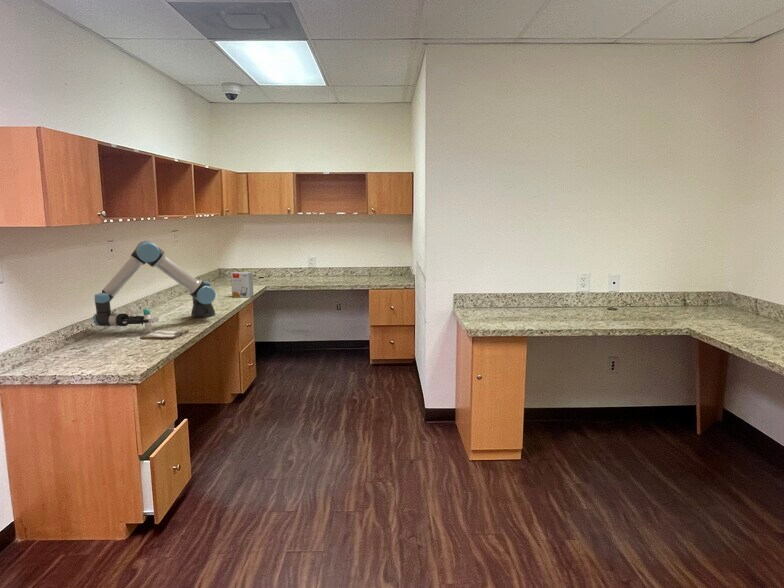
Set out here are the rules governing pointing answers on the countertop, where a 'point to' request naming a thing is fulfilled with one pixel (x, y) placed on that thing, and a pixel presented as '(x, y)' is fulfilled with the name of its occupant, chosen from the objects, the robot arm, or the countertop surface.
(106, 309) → the robot arm
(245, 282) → the hard drive box
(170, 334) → the clipboard
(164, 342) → the countertop surface
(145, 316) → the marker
